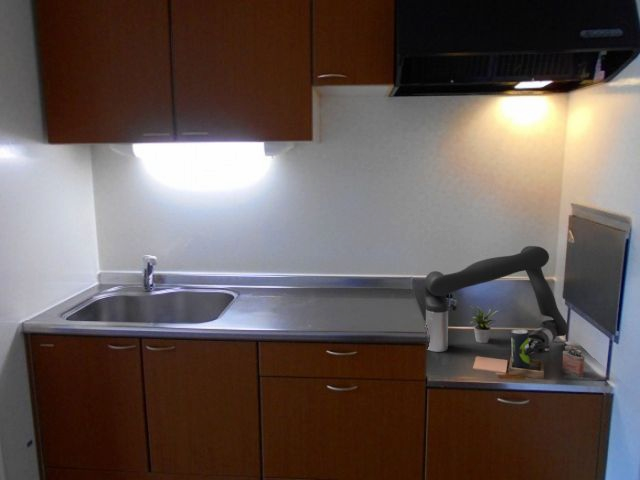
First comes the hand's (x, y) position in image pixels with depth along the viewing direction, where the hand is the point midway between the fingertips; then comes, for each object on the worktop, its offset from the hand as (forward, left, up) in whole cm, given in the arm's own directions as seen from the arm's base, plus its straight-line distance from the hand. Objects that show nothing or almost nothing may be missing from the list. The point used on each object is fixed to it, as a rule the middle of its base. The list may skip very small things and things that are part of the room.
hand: (523, 352), depth 186 cm
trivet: (-12, +4, -8) cm, 15 cm away
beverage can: (0, +3, -8) cm, 9 cm away
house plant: (-19, +30, -9) cm, 36 cm away
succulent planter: (+17, +7, -9) cm, 21 cm away
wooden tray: (+1, +4, -8) cm, 9 cm away
